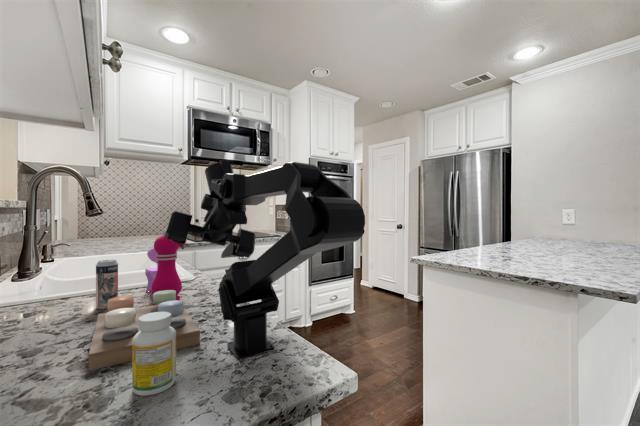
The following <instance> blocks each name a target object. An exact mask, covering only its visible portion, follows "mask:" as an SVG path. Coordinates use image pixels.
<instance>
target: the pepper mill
mask: <svg viewBox="0 0 640 426" xmlns="http://www.w3.org/2000/svg"><path fill="white" fill-rule="evenodd" d="M166 230H167V229H164V230H163V231H162V234H163V235H162V236H159V237H157V238H156V239H155V241H154V242H153V247H154V249H155V251H156V252H157V253H158V254H157V255H156V256H157V257H156V260H158V270H157V274H156V276H155V279H154V281H153V283H152V287H151V292H150V293H151V294H152V295H153V293H155V292H158V291H163V290H175V291H176V300H180V301H181V296H180V295H179V294H180V292H181V291H182V289H183V285H182V280H181V278H180V276H179V274H178V271H177V266H176V261H177V259H178V249H180V246H179V245H178V244H177V243H176V242H173V241H171V240H170V239H167V238H166V237H165V233H166ZM176 251H177V253H176ZM152 304H153V303H152ZM154 305H157V304H153V305H152V306H154Z"/></svg>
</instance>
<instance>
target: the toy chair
mask: <svg viewBox="0 0 640 426" xmlns="http://www.w3.org/2000/svg"><path fill="white" fill-rule="evenodd" d="M176 253H177V254H178V250H177V251H176ZM146 254H147V258H148V259H149V260H150V261H151V262H153V263H155V264H156V267H150V268H149V267H147V268H145V272H144V274H145V276H146V280H147V287H146V289H145V293H149V292H148V291H151V287H152V283H153V281H154V279H155V276H156V274H157V270H158V260H156V257H157V256H156V255H157V254H158V253H157V252H156V251H155V249H154V246H153V247H151V248H149V250H148V251H147V253H146Z"/></svg>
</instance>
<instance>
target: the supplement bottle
mask: <svg viewBox="0 0 640 426" xmlns="http://www.w3.org/2000/svg"><path fill="white" fill-rule="evenodd" d="M170 324H171V313H169V312H153V313H148V314H145V315H143V316H141V317H139V319H138V328H139V330H141V331H139V332H138V333H137V334H136V335H135V336H134V338H133V342H132V361H131V365H132V370H131V374H132V375H131V377H132V378H131V379H132V381H131V382H132V383H131V384H132V391H133V393H134V394H135V395H138V396H143V397H145V396H146V397H147V396H153V395H154V396H155V395H157V394H159V393H162V392H164V391H166V390H168V389H169V388H171V386H173V385H174V383H175V382H176V380H177V350H176V330H175V329H174V328H173V327H171V326H169V325H170Z"/></svg>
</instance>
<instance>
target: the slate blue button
mask: <svg viewBox="0 0 640 426" xmlns="http://www.w3.org/2000/svg"><path fill="white" fill-rule="evenodd" d="M184 308H185V305H184V301H183V300H181V299H180V300H174V301H167V302H163V303H160V304H159V305H158V312H169V313H171V318H172V317H177V316H180V315H182V314H183V313H184Z"/></svg>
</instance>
